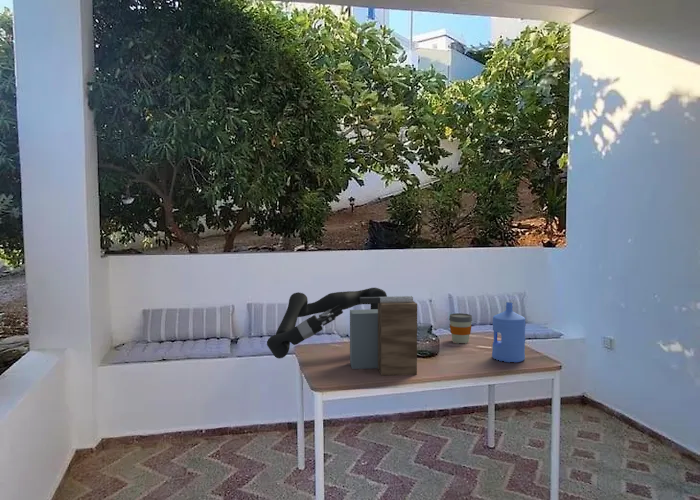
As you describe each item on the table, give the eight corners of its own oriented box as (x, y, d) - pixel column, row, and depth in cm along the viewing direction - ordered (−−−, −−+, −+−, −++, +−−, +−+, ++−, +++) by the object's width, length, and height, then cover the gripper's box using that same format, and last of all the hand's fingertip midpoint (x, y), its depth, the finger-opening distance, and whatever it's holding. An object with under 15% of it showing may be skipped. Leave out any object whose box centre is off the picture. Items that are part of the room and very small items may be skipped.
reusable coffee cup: (451, 344, 289) (452, 317, 288) (446, 339, 301) (447, 313, 300) (474, 344, 289) (474, 317, 288) (468, 338, 302) (468, 313, 301)
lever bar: (359, 302, 237) (359, 297, 237) (411, 301, 240) (411, 296, 240) (360, 303, 234) (360, 298, 234) (413, 302, 237) (413, 297, 237)
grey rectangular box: (349, 362, 254) (349, 309, 252) (390, 361, 256) (390, 308, 254) (352, 369, 244) (351, 313, 242) (394, 367, 246) (394, 312, 244)
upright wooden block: (377, 368, 245) (377, 300, 242) (411, 367, 246) (411, 299, 244) (381, 375, 234) (381, 304, 231) (416, 374, 235) (417, 304, 233)
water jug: (526, 356, 264) (527, 301, 263) (522, 364, 250) (523, 306, 248) (494, 353, 271) (495, 299, 269) (489, 360, 257) (490, 304, 255)
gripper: (313, 331, 241) (343, 312, 242) (314, 338, 227) (347, 318, 228) (304, 317, 240) (335, 299, 242) (306, 323, 226) (338, 304, 227)
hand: (341, 308), depth 235 cm, fingers open, 8 cm apart
